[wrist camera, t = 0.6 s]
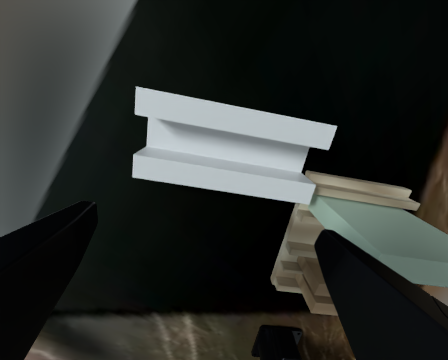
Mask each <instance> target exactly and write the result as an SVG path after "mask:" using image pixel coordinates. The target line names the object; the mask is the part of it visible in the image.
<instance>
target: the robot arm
mask: <svg viewBox="0 0 448 360" xmlns="http://www.w3.org/2000/svg"><path fill="white" fill-rule="evenodd" d="M97 223H98V217H97V206H96V203H95V202H93V201H84V200H83V201H80V202H77V203H75V204H73V205H71V206H69V207H66V208H64V209H62V210H60V211H57V212H55V213H53V214H51V215H49V216H46V217H44V218H42V219H40V220H37V221H35V222H33V223H31V224H29V225H26V226H24V227H22V228H20V229H17V230H15V231H13V232H11V233H9V234H7V235H4V236H2V237H0V360H24V359H25V357H26V355H27V354H28V352H29V350H30V349H31V347H32V345H33V343H34V342H35V340H36V338H37V337H38V335H39V333H40V331H41V330H42V328H43V326H44V325H45V323H46V321H47V320H48V318H49V316H50V314H51V313H52V311H53V309H54V308H55V306H56V304H57V302H58V301H59V299H60V297H61V296H62V294H63V292H64V291H65V289H66V287H67V285H68V284H69V282H70V280H71V279H72V277H73V275H74V273H75V272H76V270H77V268H78V266H79V264H80V262H81V260H82V258H83V256H84V253H85V251H86V249H87V247H88V244H89V242H90V240H91V238H92V235H93V233H94V231H95V229H96V226H97ZM314 249H315V252H316V255H317V259H318V262H319V265H320V268H321V272H322V275H323V278H324V281H325V284H326V287H327V289H328V292H329V294H330V297H331V299H332V302H333V304H334V307H335V309H336V312H337V314H338V317H339V319H340V321H341V324H342V326H343V329H344V331H345V334H346V336H347V339H348V341H349V344H350V346H351V349H352V351H353V354H354V356H355V358H356V360H448V306H447V305H445V304H444V303H442V302H440V301H439V300H438V299H436V298H434V297H433V296H430V294H428V293H427V292H425V291H424V290H422V289H421V288H419V287H418V286H416V285H415V284H413V283H412V282H410V281H409V280H407V279H406V278H404V277H403V276H401V275H400V274H398V273H397V272H395V271H394V270H392V269H391V268H389V267H388V266H386V265H385V264H383V263H382V262H380V261H379V260H377V259H376V258H374V257H373V256H371V255H370V254H368V253H367V252H365V251H364V250H362V249H361V248H359V247H358V246H356V245H355V244H353V243H352V242H350V241H349V240H347V239H346V238H344V237H343V236H341V235H340V234H338V233H337V232H335V231H334V230H329V229H323V230H322V231H321V232H320V234H319V236H318V238H317V239H316V241H315V243H314ZM301 335H302V332H301V330H300V329H295V328H284V327H274V326H261V327H260V328H259V331H258V334H257V337H256V340H255V343H254V346H253V349H252V351H251V353H252V356H253V357H260V360H302V358H301V355H300V352H299V349H298V346H297V344H298V342H299V340H300V337H301Z"/></svg>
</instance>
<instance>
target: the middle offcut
mask: <svg viewBox="0 0 448 360" xmlns="http://www.w3.org/2000/svg"><path fill="white" fill-rule="evenodd" d="M297 262H298V264H299V266H300V268H301V270H302V272H303V274H304V276H305V278H306V280H307V281H308V283H309V285H310V287H311V289H312V291H313V293H314V295H319V296H328V297H330V294H329V292H328V289H327V287H326V284H325V281H324V278H323V275H322V272H321V268H320V265H319V262H318V259H316V258H309V257H301V256H298V258H297Z"/></svg>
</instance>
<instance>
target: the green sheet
mask: <svg viewBox="0 0 448 360" xmlns="http://www.w3.org/2000/svg"><path fill="white" fill-rule="evenodd" d="M308 209H309V210H310V212H311V213H312V214H313V215H314V216H315V217H316V218H317V220H318V221H319V222H320V223H321V224H322V225H323V226H324V228H325V229H329V230H334V231H335V232H337V233H338V234H340V235H341V236H343V237H344V238H346V239H347V240H349V241H350V242H352V243H353V244H355V245H356V246H358V247H359V248H361V249H362V250H364V251H365V252H367V253H368V254H370V255H371V256H373V257H374V258H376V259H377V260H379V261H380V262H382V263H383V264H385V265H386V266H388V267H389V268H391V269H392V270H394V271H395V272H397V273H398V274H400V275H401V276H403V277H404V278H406V279H407V280H409V281H410V282H412V283H415V284H423V285H431V286H439V287H448V235H447V234H445V233H444V232H442V231H440V230H438V229H437V228H435V227H433V226H431V225H429V224H428V223H426V222H424V221H422V220H421V219H419V218H417V217H415V216H414V215H412V214H410V213H408V212H406V211H405V210H403V209H401V208H397V207H391V206H385V205H378V204H372V203H366V202H360V201H354V200H347V199H341V198H335V197H329V196H323V195H316V194H313V195H312V198H311V201H310V204H309V205H308Z"/></svg>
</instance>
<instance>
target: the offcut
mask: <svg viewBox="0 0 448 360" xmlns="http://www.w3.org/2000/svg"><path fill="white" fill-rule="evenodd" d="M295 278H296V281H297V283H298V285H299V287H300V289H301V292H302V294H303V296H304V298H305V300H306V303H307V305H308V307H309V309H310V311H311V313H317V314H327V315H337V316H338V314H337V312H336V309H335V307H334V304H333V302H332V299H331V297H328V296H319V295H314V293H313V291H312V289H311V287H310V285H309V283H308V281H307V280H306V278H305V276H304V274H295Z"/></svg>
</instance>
